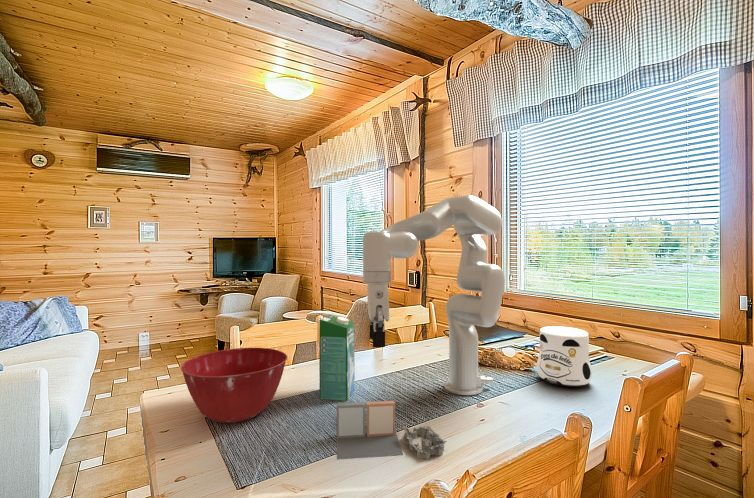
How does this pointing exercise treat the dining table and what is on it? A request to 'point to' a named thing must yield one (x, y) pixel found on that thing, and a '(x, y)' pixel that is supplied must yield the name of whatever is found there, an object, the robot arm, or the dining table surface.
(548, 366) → the milk container
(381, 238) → the robot arm
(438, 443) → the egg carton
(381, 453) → the rubber mat
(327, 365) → the milk carton
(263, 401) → the mixing bowl
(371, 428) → the terracotta tile
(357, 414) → the grey flat block
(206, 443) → the dining table surface
